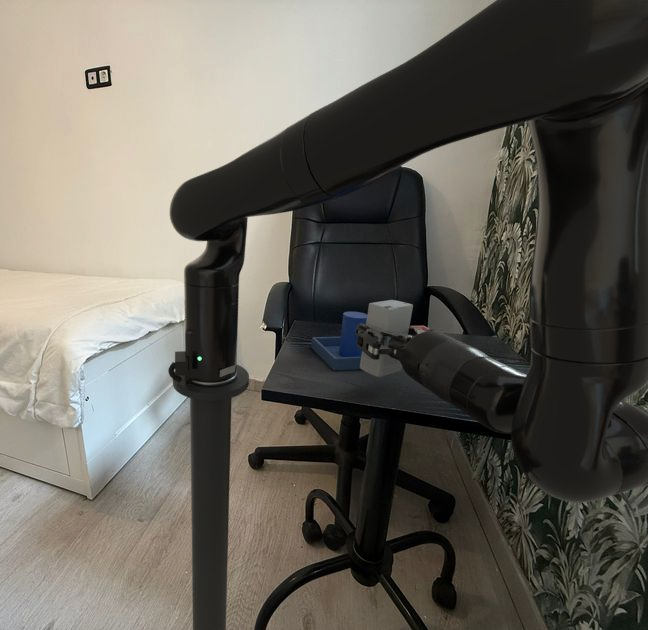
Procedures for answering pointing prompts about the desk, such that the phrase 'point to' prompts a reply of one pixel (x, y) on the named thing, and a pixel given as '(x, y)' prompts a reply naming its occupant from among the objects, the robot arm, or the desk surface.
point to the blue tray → (334, 353)
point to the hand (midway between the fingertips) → (379, 328)
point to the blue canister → (350, 334)
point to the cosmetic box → (390, 319)
